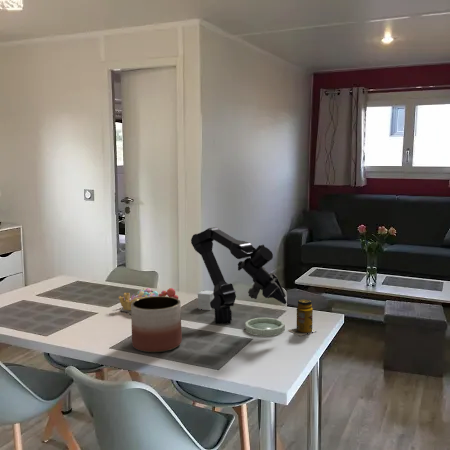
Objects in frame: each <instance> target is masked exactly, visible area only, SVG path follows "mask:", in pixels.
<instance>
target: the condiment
mask: <svg viewBox="0 0 450 450" xmlns="http://www.w3.org/2000/svg"><path fill="white" fill-rule="evenodd" d="M313 311H314V309H313V307H312V300H310V299H304V298H303V299H298V300H297V307H296V328H292V329H288V331H289V332H291V333H293V334H295V335H297V336H300V337H302V336H305V335H309V333H310V334H312V333H311V332H312V330H313V315H314V314H313ZM307 333H308V334H307Z"/></svg>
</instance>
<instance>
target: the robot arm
mask: <svg viewBox="0 0 450 450" xmlns="http://www.w3.org/2000/svg"><path fill="white" fill-rule="evenodd" d="M190 242H191V243H190V244H191V246H192V247H193V249H194V250H195V252H196V253H198V254H199V255H200V256H201V259H202V260H203V263H204V265H205V268H206V270H207V273H208V275H209V278H210V279H211V282H212V285H213V290H212V291H213V295H214V299H213V300H212V301H211V302H210V306H211V308H213V309H214V320H213V321H214V324H215V325H217V324H218V325H220V324H226V325H227V324H231V323H232V320H233V319H232V316H233V315H232V314H233V311H232V308H231V307H234V306H235V301H236V297H237V296H236V295H237V294H236V293H237V292H236V290H235V288H234V285H233V284H232V283H228V282H226V279H225V278H224V277H225V276H224V275H223V273H222V270H221V267H220V266H219V263H218V260H217V258H216V256H215V254H214V252H213V248H214V247H213V246H214V243H213V242H217V243H218V244H220V245H221V246H223V247H225V248H226V249H228V250H229V251H230V254H231V255H232V256H233V257H234V258H235V259H237V260H240V261H239V262H238V263H237V271H239V272H240V271H241V270H244V272H246V274H247V275H249V277H251V278H252V282H253V284H252V286H251V288H249V290H248V291H247V293H248V297H250V298H251V299H254V300H257V298H258V297H259V296H258V295H259V293H260V291H261V293H262V296H263V297H264V299H270V298H271V299H272V298H273V299H275V300H277V301H278V302H280V303H281V304H283V305H286V304H287V300H286V293H285V290H284V289H283V287H282V284H281V283H280V280H279V278H278V275H276V274H275V273H274V272H270V273H269V272H268V271H267V270H266V268H265V265H266V264H268V263H269V262H270V261H272V260H273V258H274V254H273V252H272V250H270V249H269V248H268V247H266V246H265V244H260V245H258V246H257V247H255V246H253V244H252V243H250V242H248V241H245V240H239V239H236V238H234V237H233V236H231V235H229V234H227V233H226V232H224V231H222V230H221V229H220V228H219V227H217V226H215V227H209V228H207V229H205V230H203V231H201V232H199V233H194V234H193V235H192V236H191V239H190ZM241 259H244V260H243V261H242V260H241ZM213 309H212V310H213Z"/></svg>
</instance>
